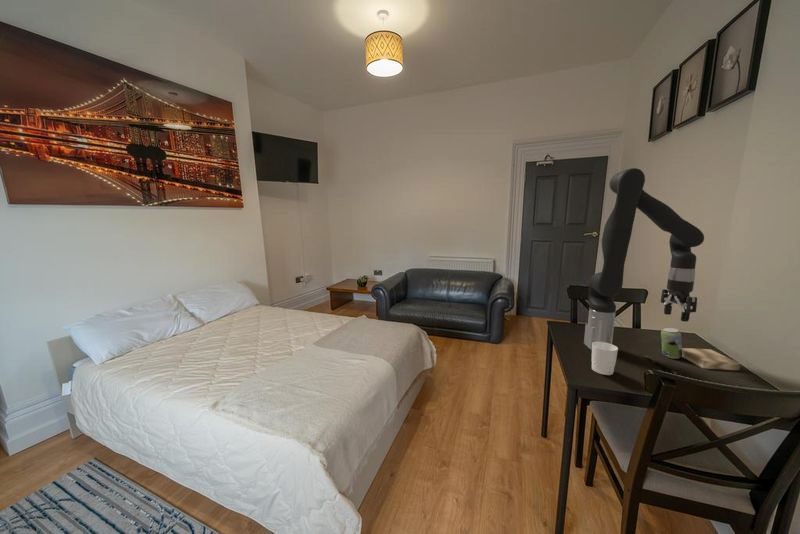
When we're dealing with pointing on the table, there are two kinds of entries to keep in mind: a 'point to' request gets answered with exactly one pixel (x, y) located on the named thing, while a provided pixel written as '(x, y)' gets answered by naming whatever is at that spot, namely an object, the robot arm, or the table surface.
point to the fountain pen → (658, 364)
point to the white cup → (603, 357)
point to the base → (709, 359)
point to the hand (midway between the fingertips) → (675, 317)
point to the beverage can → (671, 343)
